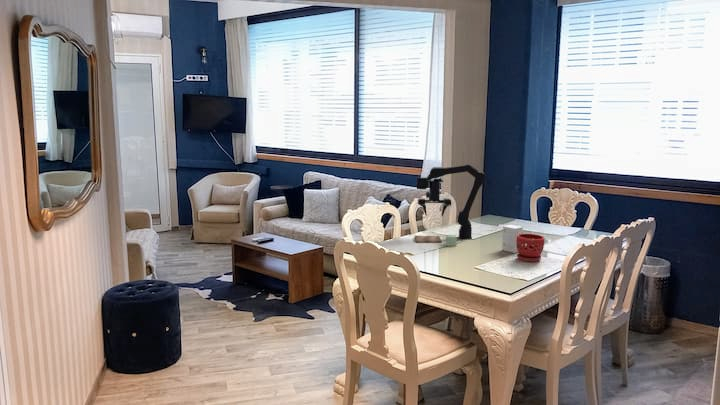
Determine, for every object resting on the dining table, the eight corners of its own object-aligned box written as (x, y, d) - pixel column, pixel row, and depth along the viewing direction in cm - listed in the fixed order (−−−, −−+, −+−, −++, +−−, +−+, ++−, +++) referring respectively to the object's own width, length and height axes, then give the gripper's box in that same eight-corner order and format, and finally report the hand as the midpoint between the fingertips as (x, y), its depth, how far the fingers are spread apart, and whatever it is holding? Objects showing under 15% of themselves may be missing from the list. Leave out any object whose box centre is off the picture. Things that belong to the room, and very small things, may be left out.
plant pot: (539, 264, 267) (540, 240, 264) (512, 260, 273) (513, 237, 271) (546, 258, 277) (547, 234, 275) (520, 254, 284) (521, 231, 282)
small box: (522, 251, 290) (523, 226, 288) (514, 253, 286) (515, 228, 284) (509, 248, 296) (510, 224, 294) (501, 250, 292) (502, 226, 290)
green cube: (455, 243, 307) (455, 234, 306) (456, 246, 302) (456, 237, 301) (446, 243, 307) (446, 234, 306) (447, 246, 302) (447, 237, 301)
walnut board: (439, 237, 320) (439, 235, 320) (441, 242, 308) (441, 240, 308) (414, 237, 321) (414, 235, 320) (416, 242, 309) (416, 240, 309)
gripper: (449, 187, 325) (448, 213, 328) (417, 187, 325) (416, 213, 328) (451, 190, 314) (451, 217, 317) (418, 190, 315) (418, 217, 317)
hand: (434, 216), depth 320 cm, fingers open, 9 cm apart
